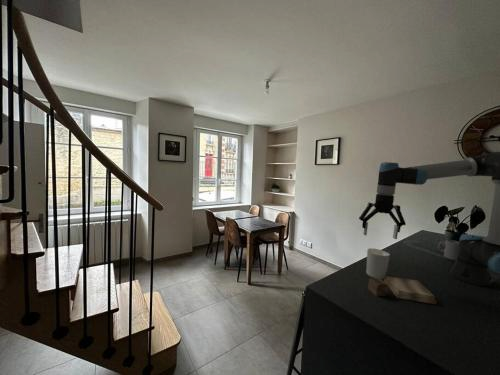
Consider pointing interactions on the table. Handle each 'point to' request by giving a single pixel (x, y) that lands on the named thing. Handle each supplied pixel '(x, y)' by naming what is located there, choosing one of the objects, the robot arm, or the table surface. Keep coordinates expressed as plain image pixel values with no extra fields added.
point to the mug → (450, 249)
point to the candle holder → (377, 263)
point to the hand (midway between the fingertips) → (379, 236)
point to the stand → (409, 290)
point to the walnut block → (377, 287)
